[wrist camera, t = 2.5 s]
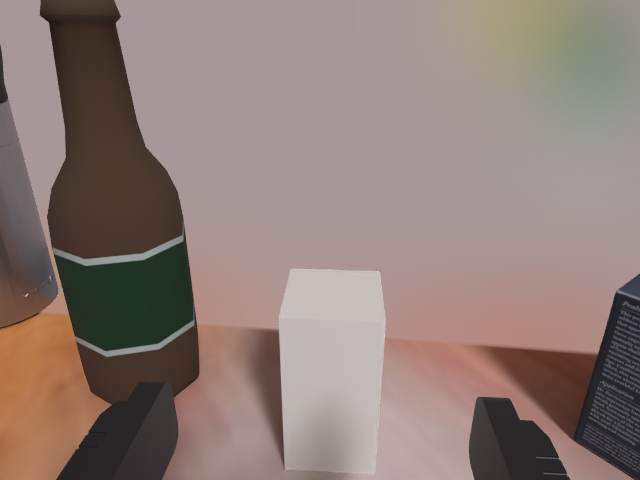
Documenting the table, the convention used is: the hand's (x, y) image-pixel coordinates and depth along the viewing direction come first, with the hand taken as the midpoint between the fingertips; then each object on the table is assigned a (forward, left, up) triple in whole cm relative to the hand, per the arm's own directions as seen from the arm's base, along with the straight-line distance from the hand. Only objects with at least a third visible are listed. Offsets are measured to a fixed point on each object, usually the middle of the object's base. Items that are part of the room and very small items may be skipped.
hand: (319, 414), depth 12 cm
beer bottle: (-13, +16, -13) cm, 25 cm away
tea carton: (0, +12, -13) cm, 17 cm away
